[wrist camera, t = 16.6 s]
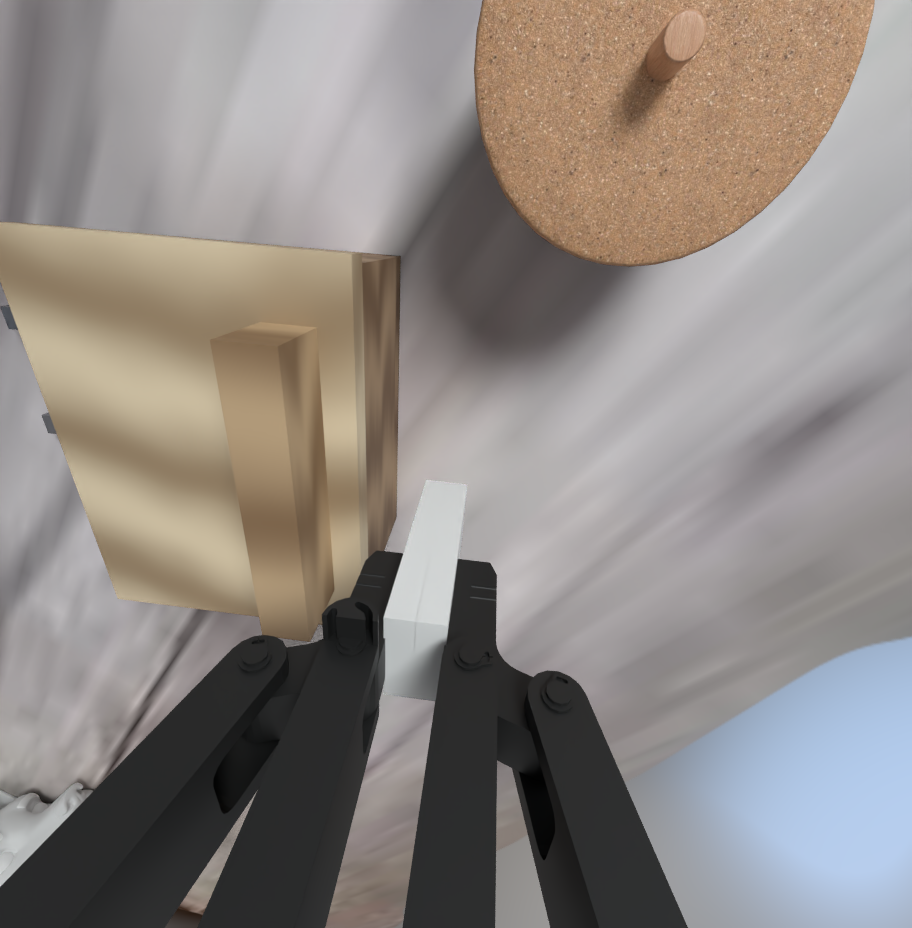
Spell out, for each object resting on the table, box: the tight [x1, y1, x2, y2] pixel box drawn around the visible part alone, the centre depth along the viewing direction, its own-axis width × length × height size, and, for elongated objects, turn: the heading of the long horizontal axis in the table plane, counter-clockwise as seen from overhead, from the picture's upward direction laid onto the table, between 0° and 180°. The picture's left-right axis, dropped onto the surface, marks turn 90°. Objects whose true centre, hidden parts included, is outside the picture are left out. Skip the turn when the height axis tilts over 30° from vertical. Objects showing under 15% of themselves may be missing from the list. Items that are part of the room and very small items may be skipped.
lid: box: [0, 222, 368, 642], centre depth 17 cm, size 17×13×4 cm
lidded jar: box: [474, 0, 875, 267], centre depth 15 cm, size 11×11×9 cm
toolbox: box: [362, 253, 401, 558], centre depth 23 cm, size 16×12×8 cm
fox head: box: [0, 783, 93, 886], centre depth 49 cm, size 13×17×20 cm
